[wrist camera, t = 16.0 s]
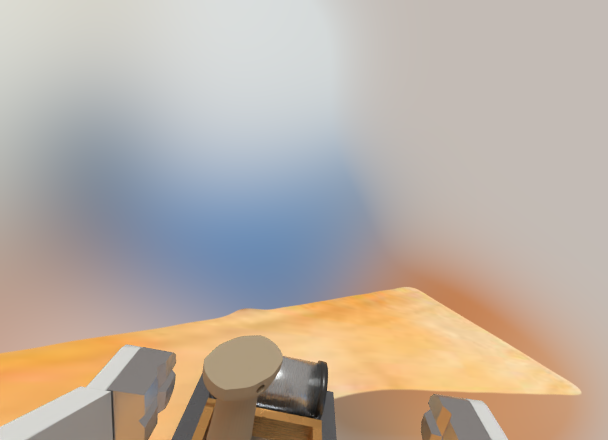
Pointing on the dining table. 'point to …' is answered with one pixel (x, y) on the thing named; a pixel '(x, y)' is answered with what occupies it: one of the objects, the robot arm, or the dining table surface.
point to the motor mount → (275, 406)
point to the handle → (239, 383)
